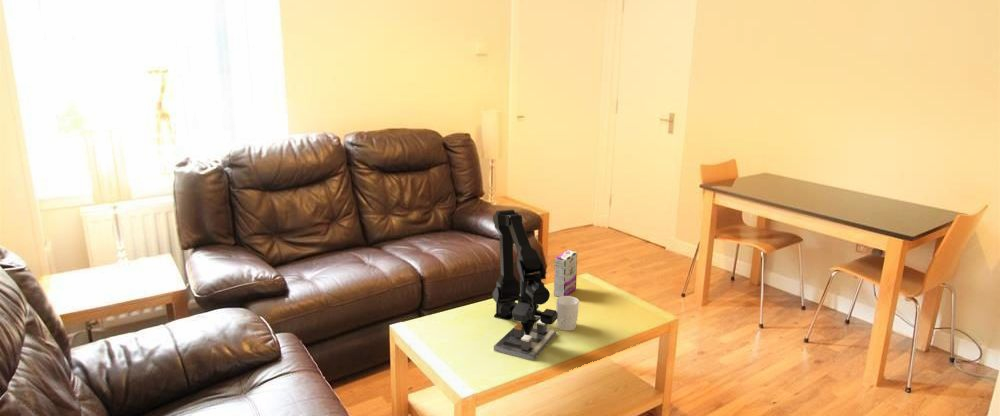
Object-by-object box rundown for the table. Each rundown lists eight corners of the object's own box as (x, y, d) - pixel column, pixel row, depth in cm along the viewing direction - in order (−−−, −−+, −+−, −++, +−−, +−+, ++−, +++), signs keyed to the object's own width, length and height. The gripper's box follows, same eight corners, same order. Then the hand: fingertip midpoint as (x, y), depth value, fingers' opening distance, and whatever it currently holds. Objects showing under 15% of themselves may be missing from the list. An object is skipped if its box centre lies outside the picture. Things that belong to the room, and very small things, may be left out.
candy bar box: (565, 287, 248) (566, 249, 244) (576, 289, 246) (578, 251, 242) (552, 296, 239) (554, 257, 235) (564, 299, 237) (565, 259, 232)
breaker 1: (513, 336, 201) (514, 326, 200) (517, 332, 204) (517, 323, 203) (520, 338, 200) (520, 328, 199) (524, 334, 203) (524, 324, 202)
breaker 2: (520, 348, 193) (521, 338, 193) (524, 344, 196) (525, 334, 195) (527, 350, 192) (528, 340, 191) (531, 346, 195) (532, 336, 194)
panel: (493, 350, 196) (493, 346, 196) (519, 326, 213) (519, 321, 213) (533, 360, 190) (533, 356, 190) (556, 334, 207) (556, 330, 207)
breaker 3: (536, 332, 205) (536, 322, 204) (540, 328, 207) (540, 318, 207) (543, 333, 204) (543, 324, 203) (546, 330, 206) (547, 320, 205)
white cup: (576, 332, 209) (578, 306, 206) (554, 330, 211) (555, 303, 208) (578, 322, 216) (579, 296, 214) (556, 320, 218) (557, 294, 215)
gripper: (492, 295, 194) (491, 339, 198) (546, 307, 186) (544, 352, 190) (507, 283, 203) (506, 326, 207) (559, 294, 196) (557, 337, 200)
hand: (527, 335), depth 201 cm, fingers closed
